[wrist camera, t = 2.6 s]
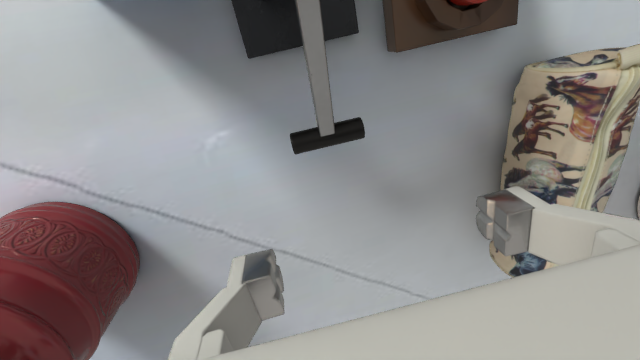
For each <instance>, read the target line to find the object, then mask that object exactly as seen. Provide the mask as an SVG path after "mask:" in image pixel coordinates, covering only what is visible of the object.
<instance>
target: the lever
mask: <svg viewBox="0 0 640 360" xmlns="http://www.w3.org/2000/svg"><path fill="white" fill-rule="evenodd" d="M295 5H296V10H297V16H298V21H299V27H300V32H301V38H302V43H303V49H304V54H305V60H306V66H307V71H308V77H309V82H310V88H311V93H312V99H313V104H314V110H315V115H316V121H317V126H318V127H316V128H311V129H307V130H303V131H299V132H295V133H291V134H290V139H291V144H292V147H293V151H294V154H299V153H303V152H307V151H312V150H316V149H320V148H324V147H328V146H333V145H337V144H341V143H345V142H349V141H353V140H358V139H362V138H364V137H365V130H364V125H363V122H362V119H361V118H360V117H358V118H353V119H349V120H345V121H341V122H337V123H334V119H333V110H332V101H331V93H330V84H329V76H328V67H327V58H326V50H325V41H324V33H323V24H322V15H321V7H320V0H295Z"/></svg>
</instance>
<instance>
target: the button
mask: <svg viewBox="0 0 640 360" xmlns="http://www.w3.org/2000/svg"><path fill="white" fill-rule="evenodd" d="M450 1H451V2H453V3H454V4H456V5H460V6H467V5H472V4H478V3H482V2H485V1H487V0H450Z"/></svg>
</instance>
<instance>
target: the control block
mask: <svg viewBox="0 0 640 360" xmlns="http://www.w3.org/2000/svg"><path fill="white" fill-rule="evenodd" d="M518 1H519V0H487V1H485V2H482V3H478V4H472V5H467V6H460V5H456V4H454V3H453V2H451V1H450V0H383V9H384V19H385V29H386V38H387V48H388V52H401V51H405V50H410V49H414V48H418V47H422V46H427V45H431V44H435V43H439V42H444V41H448V40H452V39H456V38H461V37H465V36H469V35H473V34H478V33H482V32H486V31H490V30H495V29H499V28H503V27H507V26H512V25H516V24H517V17H518Z"/></svg>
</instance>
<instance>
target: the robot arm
mask: <svg viewBox="0 0 640 360" xmlns="http://www.w3.org/2000/svg"><path fill="white" fill-rule="evenodd" d="M476 206H477V207H478V208H479V209H480V211H479V212H478V214H477V215H476V223H477V226H478V229H479V231H480V232H481V234H482V235H483V236H484V237H485V238H486V239H489V240H492V241H494V246H495V247H496V248H497V249H498V250H499V251H500V252H501V253H502V254H503V255H504V256H505V257H506V256H510V255H514V254H519V253H523V252H527V251H528V252H529V253H531V254H533V255H536V256H538V257H540V258H543V259H545V260H548V261H550V262H552V263H555V264H557V265H559V266H555V267H552V268H548V269H544V270H540V271H536V272H532V273H529V274H525V275H521V276H517V277H513V278H510V279H506V280H502V281H498V282H494V283H491V284H487V285H483V286H479V287H475V288H471V289H468V290H464V291H460V292H456V293H453V294H449V295H445V296H441V297H437V298H434V299H430V300H426V301H422V302H418V303H414V304H411V305H407V306H403V307H399V308H395V309H392V310H388V311H384V312H380V313H376V314H373V315H369V316H365V317H361V318H357V319H353V320H350V321H346V322H342V323H338V324H334V325H331V326H327V327H323V328H319V329H315V330H311V331H308V332H304V333H300V334H296V335H292V336H289V337H285V338H281V339H277V340H273V341H270V342H266V343H262V344H258V345H254V346H250V347H248V345H249V344H250V342H251V340H252V338H253V337H254V335H255V333H256V331H257V330H258V328H259V326H260V324H261V322H262V320H266V319H269V318H273V317H276V316H280V315H283V314H284V298H283V295H282V293H283V291H284V284H283V278H282V274H281V270H280V267H279V266H278V265H276V256H275V253H274V250H273V249H268V250H264V251H260V252H255V253H251V254H247V255H243V256H239V257H235V258H233V260H232V263H231V268H230V273H229V277H228V282H227V287H226V288H224V289H222V290H221V291H220V292H219V293H218V294H217V295H216V296H215V297H214V298H213V299H212V301H211V302H210V303H209V304H208V305H207V306H206V307H205V308H204V309H203V310H202V311H201V312H200V313H199V314H198V315H197V316H196V318H195V319H194V320H193V321H192V322H191V323H190V324H189V325H188V326H187V327H186V328H185V329H184V330H183V331H182V332H181V334H180V335H179V336H178V337H177V338H176V339H175V340H174V343H173V346H172V349H171V352H170V354H169V357H168V360H640V196H639V200H638V207H637V212H638V217H639V220H637V219H632V218H627V217H622V216H616V215H611V214H606V213H601V212H595V211H590V210H585V209H580V208H575V207H569V206H564V205H559V204H551V205H550V204H548V203H547V202H545V201H543V200H542V199H540V198H538V197H536V196H535V195H533V194H531V193H530V192H528V191H526V190H525V189H523V188H521V187H518V186H514V187H510V188H507V189H504V190H501V191H497V192H494V193H490V194H486V195H482V196H479V197H478V198H477V201H476Z"/></svg>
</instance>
